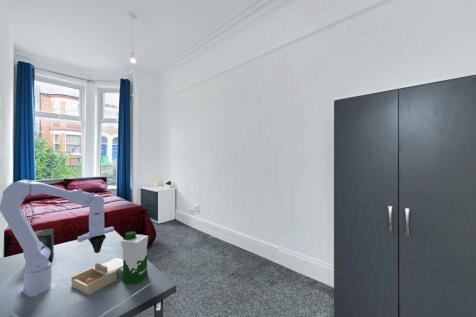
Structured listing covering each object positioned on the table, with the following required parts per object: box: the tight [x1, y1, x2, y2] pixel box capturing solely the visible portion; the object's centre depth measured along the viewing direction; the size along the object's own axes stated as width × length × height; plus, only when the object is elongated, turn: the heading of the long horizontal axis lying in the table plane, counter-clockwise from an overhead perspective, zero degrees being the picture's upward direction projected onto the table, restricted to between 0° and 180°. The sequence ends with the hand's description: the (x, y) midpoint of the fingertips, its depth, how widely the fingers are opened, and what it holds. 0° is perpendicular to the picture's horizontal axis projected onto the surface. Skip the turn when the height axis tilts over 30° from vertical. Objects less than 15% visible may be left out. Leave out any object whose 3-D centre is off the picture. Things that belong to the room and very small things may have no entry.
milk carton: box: [120, 231, 149, 285], centre depth 92 cm, size 9×9×20 cm
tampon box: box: [33, 228, 55, 264], centre depth 108 cm, size 11×9×15 cm
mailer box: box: [71, 265, 118, 296], centre depth 89 cm, size 12×11×5 cm
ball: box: [85, 278, 94, 284], centre depth 87 cm, size 3×3×3 cm
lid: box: [93, 257, 123, 275], centre depth 95 cm, size 10×11×3 cm
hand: (97, 252), depth 96 cm, fingers closed
